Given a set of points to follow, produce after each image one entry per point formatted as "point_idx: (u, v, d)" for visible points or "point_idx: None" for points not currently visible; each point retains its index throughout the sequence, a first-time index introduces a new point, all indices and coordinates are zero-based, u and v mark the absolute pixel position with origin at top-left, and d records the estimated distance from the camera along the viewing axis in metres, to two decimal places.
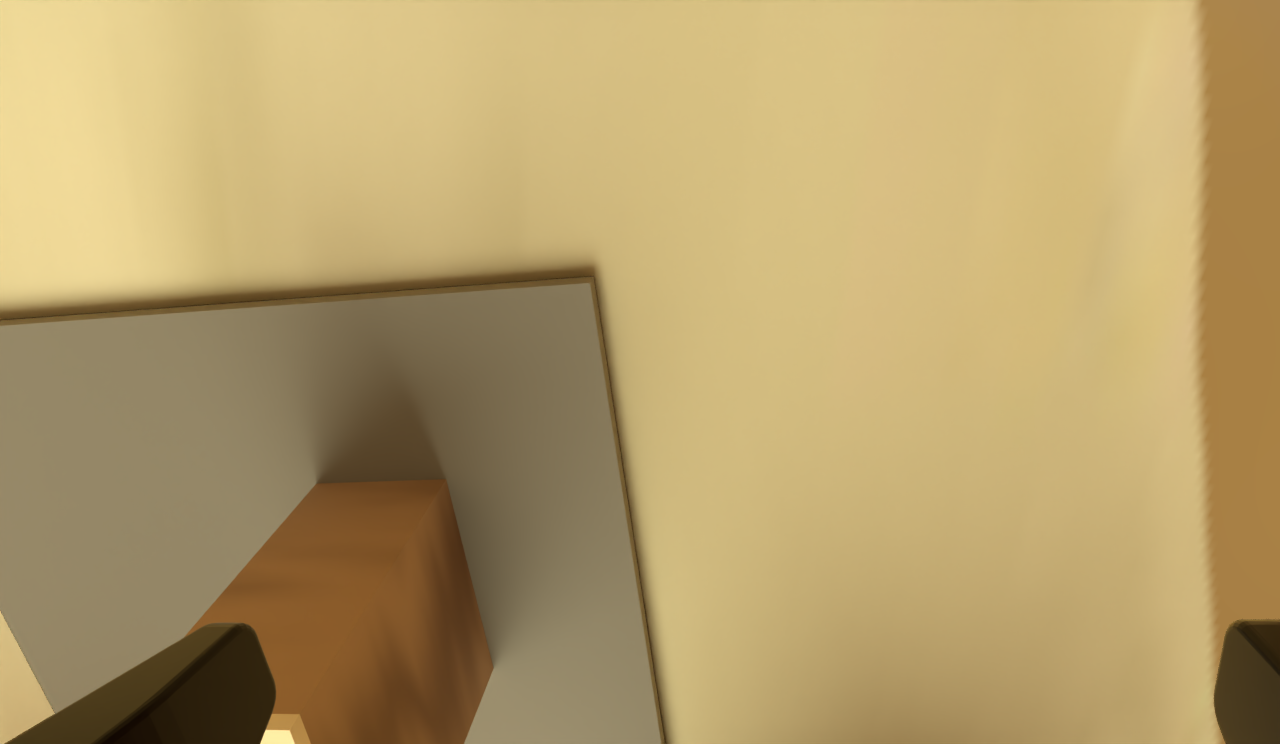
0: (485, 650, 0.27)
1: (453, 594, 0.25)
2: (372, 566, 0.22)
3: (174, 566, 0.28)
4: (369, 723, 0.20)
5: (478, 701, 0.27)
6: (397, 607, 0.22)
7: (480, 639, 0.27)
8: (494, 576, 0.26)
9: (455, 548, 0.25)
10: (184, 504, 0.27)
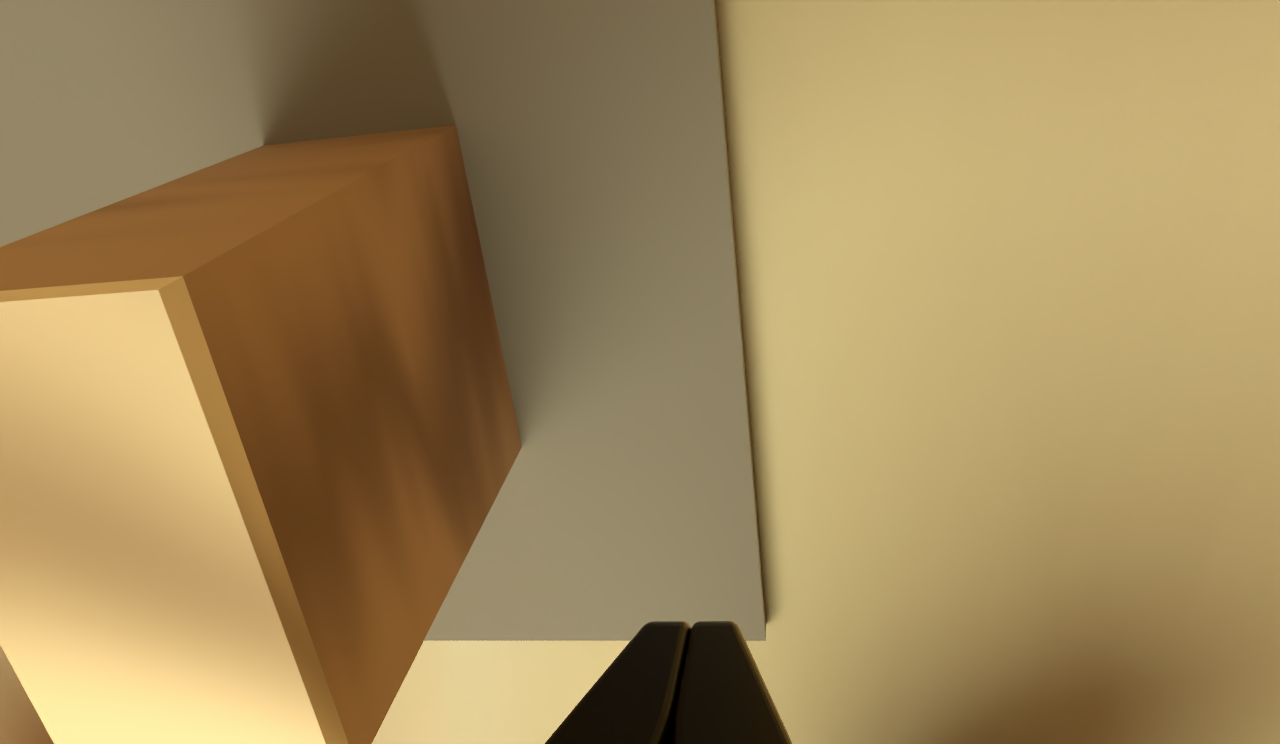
0: (511, 414, 0.19)
1: (466, 299, 0.17)
2: (338, 175, 0.13)
3: None
4: (328, 391, 0.12)
5: (501, 478, 0.18)
6: (379, 243, 0.13)
7: (504, 393, 0.19)
8: (525, 292, 0.18)
9: (469, 236, 0.17)
10: (75, 193, 0.18)
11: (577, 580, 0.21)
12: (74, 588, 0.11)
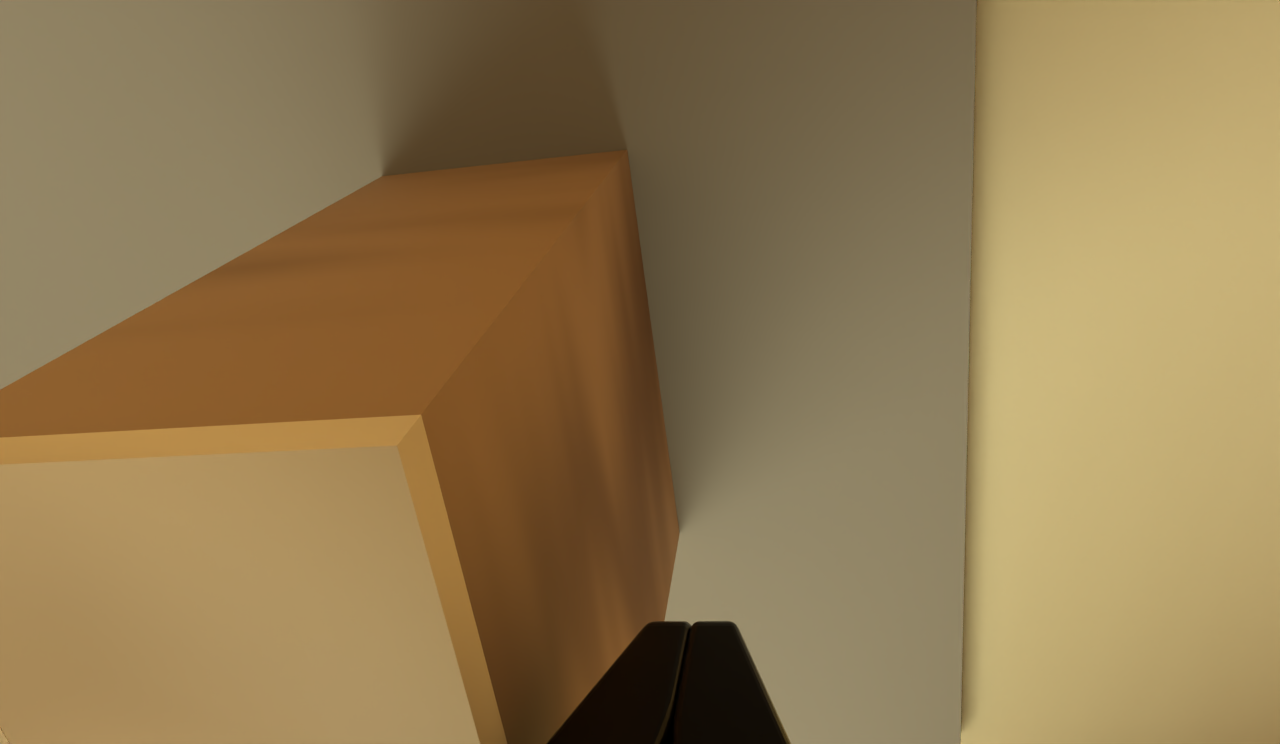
0: (672, 496, 0.16)
1: (641, 366, 0.13)
2: (528, 222, 0.10)
3: None
4: (551, 533, 0.08)
5: (669, 579, 0.15)
6: (582, 313, 0.10)
7: (667, 473, 0.15)
8: (699, 352, 0.15)
9: (640, 286, 0.14)
10: (146, 235, 0.15)
11: None
12: None
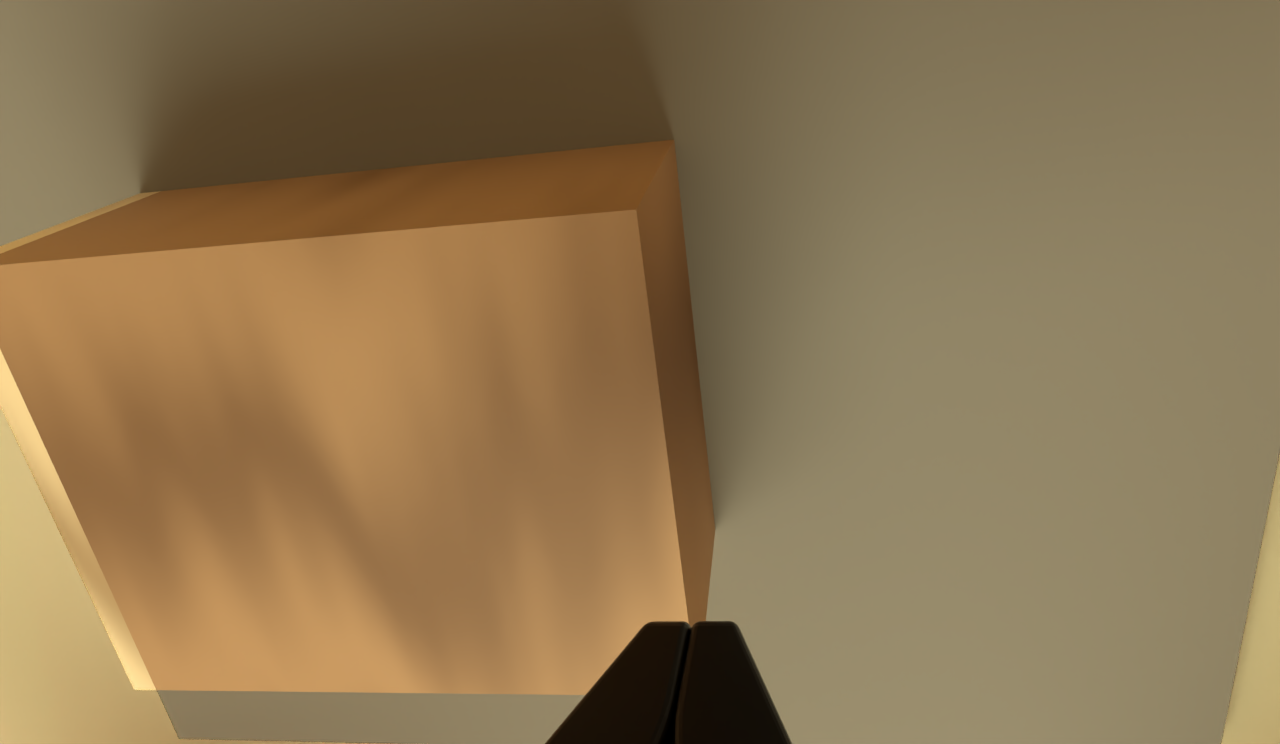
0: None
1: (563, 454, 0.11)
2: (324, 225, 0.11)
3: None
4: (161, 421, 0.12)
5: None
6: (304, 320, 0.11)
7: (657, 610, 0.12)
8: (1001, 332, 0.14)
9: (616, 380, 0.11)
10: None
11: (981, 686, 0.17)
12: None
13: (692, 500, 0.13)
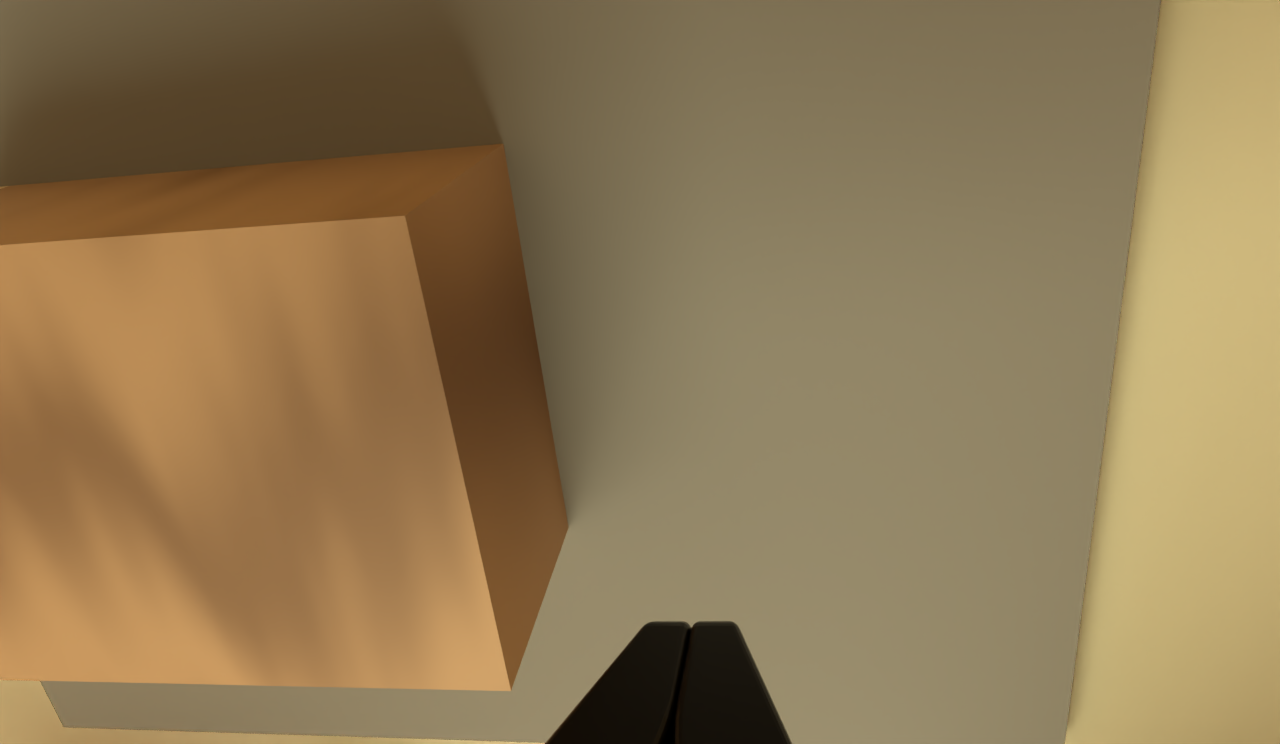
0: (484, 639, 0.12)
1: (359, 453, 0.11)
2: (120, 225, 0.11)
3: None
4: None
5: (410, 681, 0.13)
6: (100, 319, 0.11)
7: (464, 606, 0.12)
8: (829, 337, 0.14)
9: (403, 381, 0.11)
10: None
11: (833, 683, 0.17)
12: None
13: (515, 499, 0.13)
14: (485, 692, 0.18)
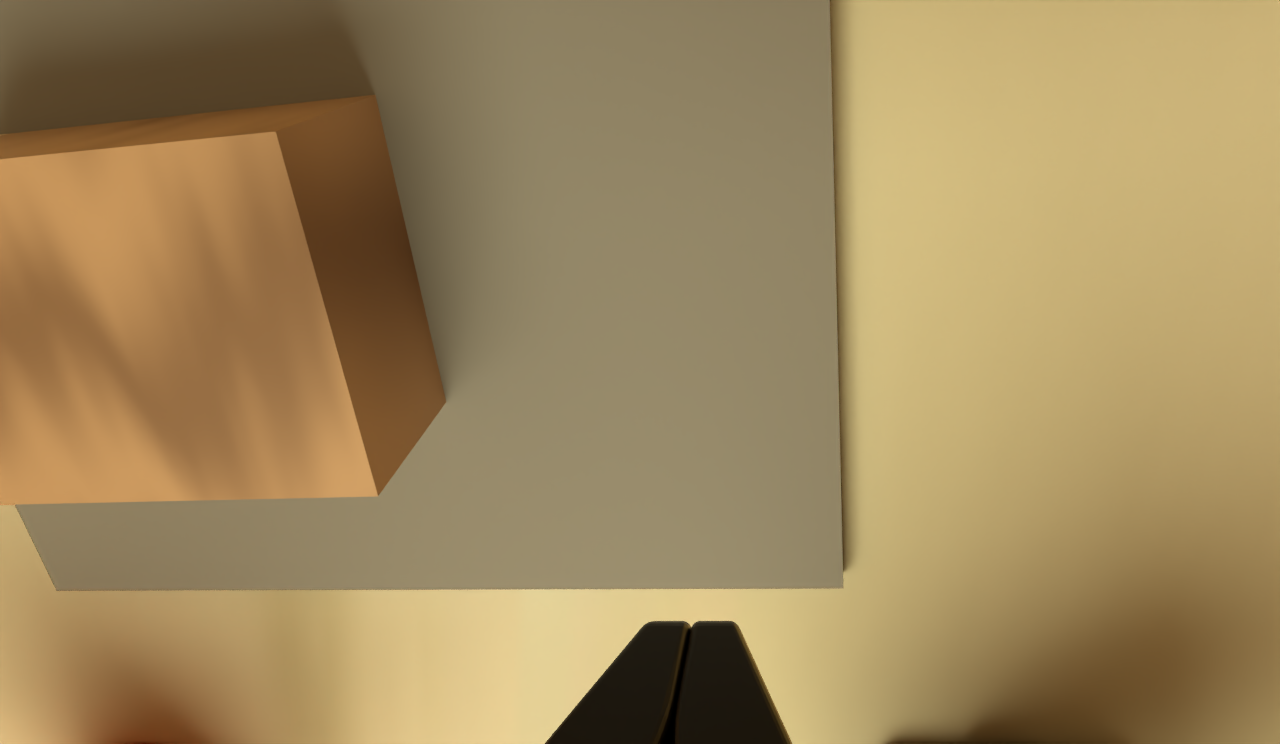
0: (355, 454, 0.17)
1: (256, 309, 0.16)
2: (85, 146, 0.15)
3: None
4: None
5: (305, 492, 0.17)
6: (70, 212, 0.15)
7: (339, 428, 0.17)
8: (627, 240, 0.18)
9: (283, 253, 0.15)
10: None
11: (660, 528, 0.22)
12: None
13: (384, 359, 0.18)
14: (392, 546, 0.23)
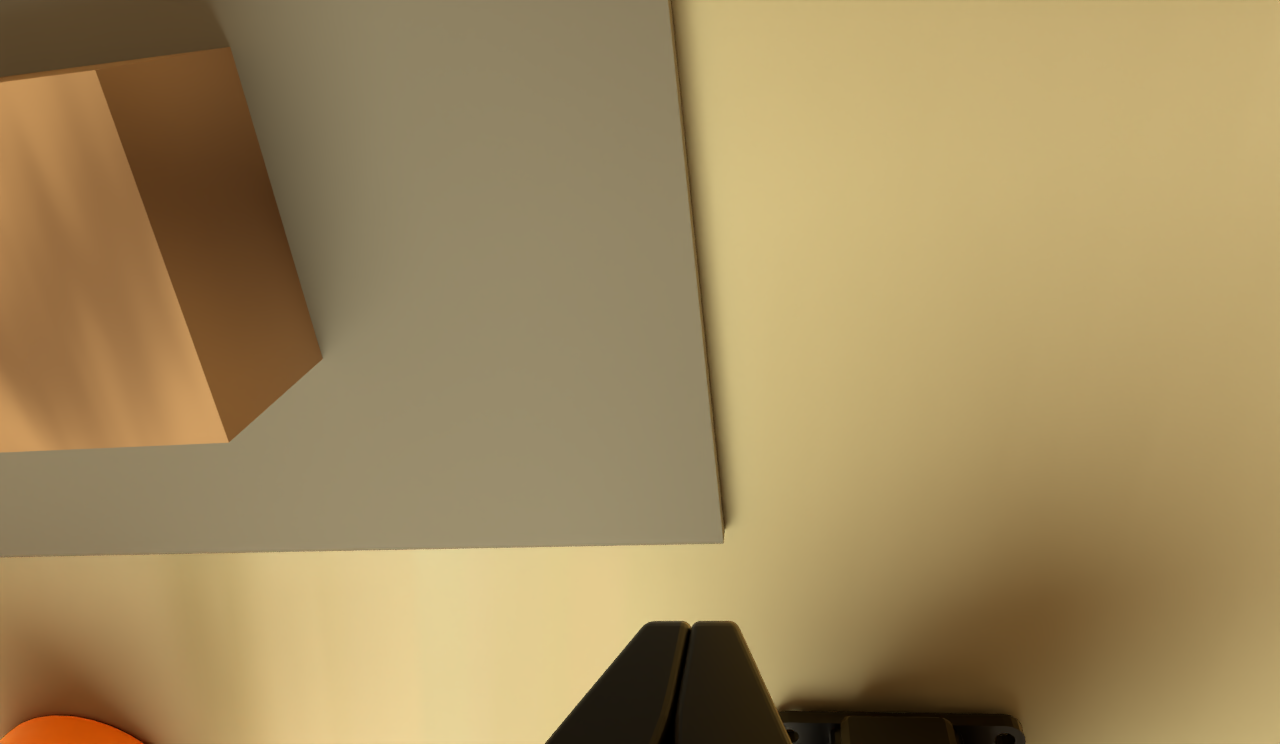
0: (202, 400, 0.17)
1: (94, 252, 0.16)
2: None
3: None
4: None
5: (158, 439, 0.18)
6: None
7: (184, 373, 0.17)
8: (485, 191, 0.19)
9: (114, 194, 0.15)
10: None
11: (540, 485, 0.22)
12: None
13: (239, 307, 0.18)
14: (281, 507, 0.23)
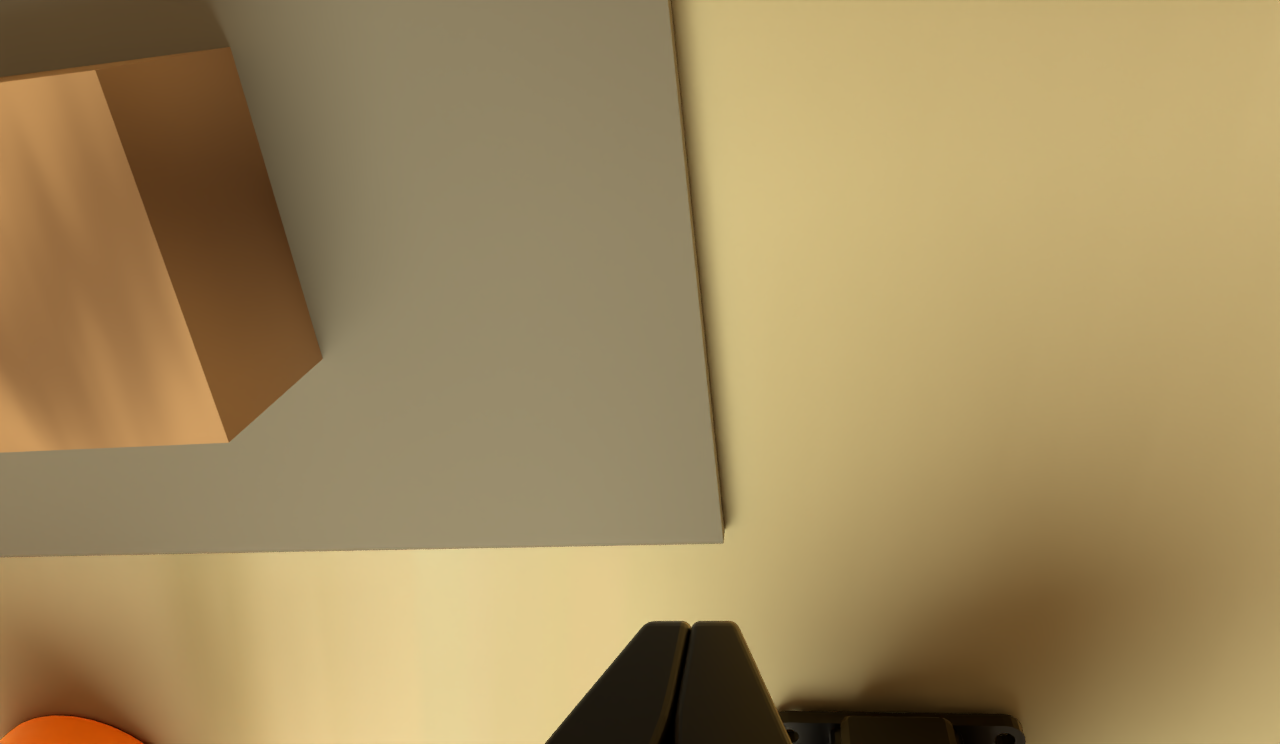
0: (202, 400, 0.17)
1: (94, 252, 0.16)
2: None
3: None
4: None
5: (158, 439, 0.18)
6: None
7: (184, 373, 0.17)
8: (485, 191, 0.19)
9: (114, 194, 0.15)
10: None
11: (540, 485, 0.22)
12: None
13: (239, 308, 0.18)
14: (281, 507, 0.23)
